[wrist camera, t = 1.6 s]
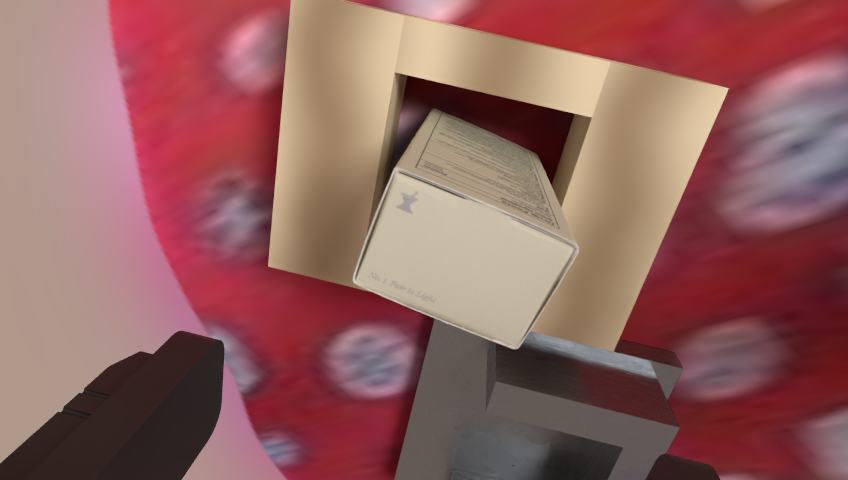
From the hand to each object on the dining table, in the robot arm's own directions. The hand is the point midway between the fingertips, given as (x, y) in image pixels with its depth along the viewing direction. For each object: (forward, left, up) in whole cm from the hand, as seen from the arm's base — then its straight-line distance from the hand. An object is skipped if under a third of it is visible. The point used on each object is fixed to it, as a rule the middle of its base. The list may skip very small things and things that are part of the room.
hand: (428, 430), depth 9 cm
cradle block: (-7, +15, -19) cm, 25 cm away
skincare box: (0, 0, -19) cm, 19 cm away
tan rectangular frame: (0, 0, -19) cm, 19 cm away
